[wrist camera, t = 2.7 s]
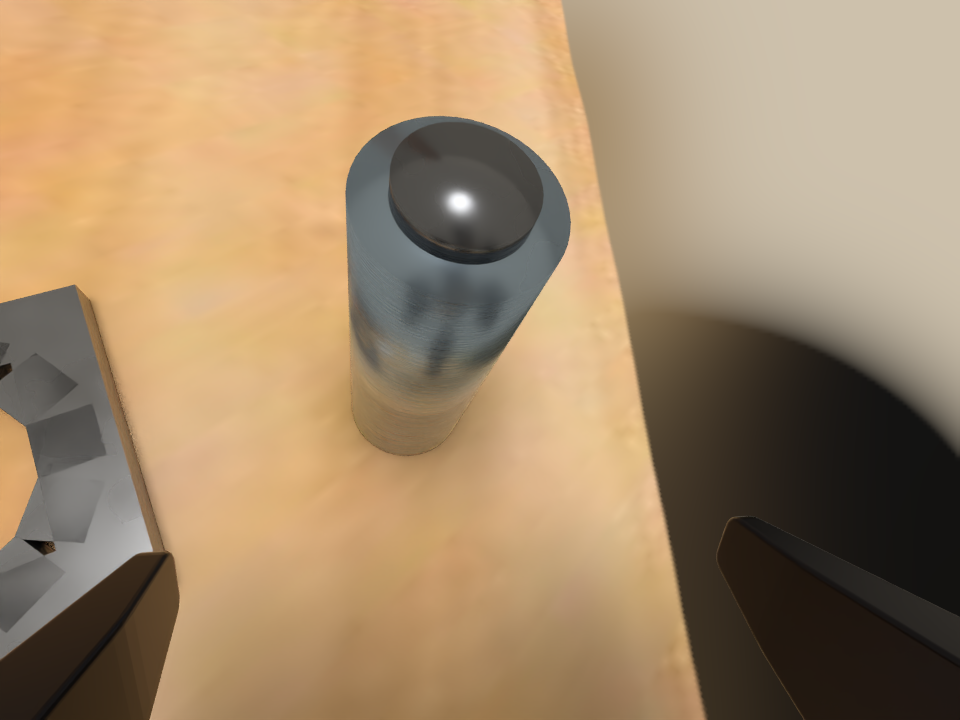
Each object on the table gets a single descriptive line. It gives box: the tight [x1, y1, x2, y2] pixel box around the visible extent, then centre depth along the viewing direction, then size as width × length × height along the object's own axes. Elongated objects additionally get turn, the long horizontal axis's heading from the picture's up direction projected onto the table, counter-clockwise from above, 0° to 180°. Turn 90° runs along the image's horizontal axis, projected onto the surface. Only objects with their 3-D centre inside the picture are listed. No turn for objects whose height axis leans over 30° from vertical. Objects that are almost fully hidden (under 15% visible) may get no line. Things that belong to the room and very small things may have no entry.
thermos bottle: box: [346, 116, 571, 456], centre depth 16 cm, size 5×5×14 cm
